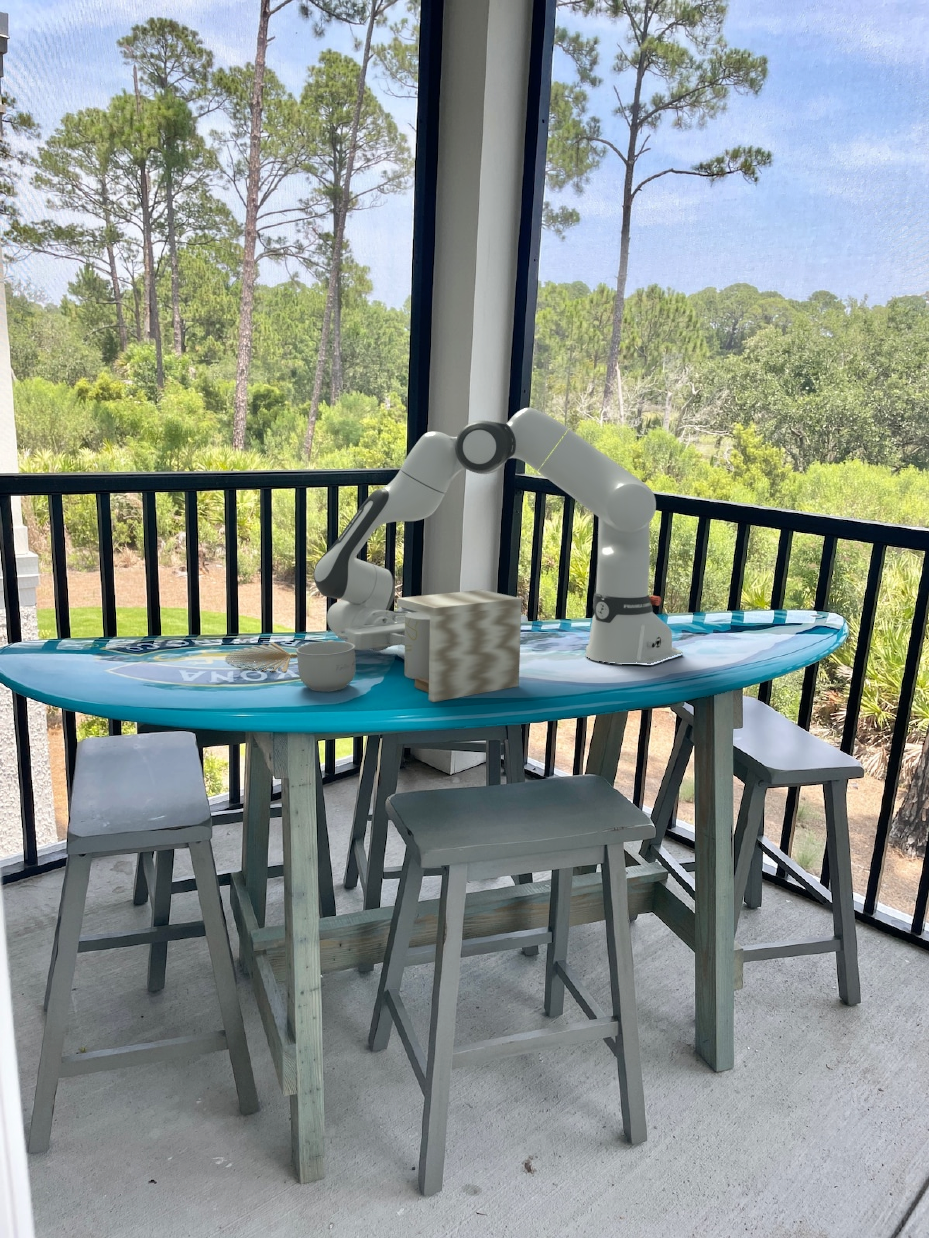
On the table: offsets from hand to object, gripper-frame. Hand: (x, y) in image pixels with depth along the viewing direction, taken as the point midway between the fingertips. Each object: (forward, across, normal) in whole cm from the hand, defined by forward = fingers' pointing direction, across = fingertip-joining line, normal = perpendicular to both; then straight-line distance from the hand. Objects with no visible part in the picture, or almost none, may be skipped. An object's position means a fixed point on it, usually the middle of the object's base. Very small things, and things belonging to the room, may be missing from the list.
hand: (412, 641), depth 181 cm
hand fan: (-25, -21, +6) cm, 34 cm away
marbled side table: (+16, 0, +6) cm, 17 cm away
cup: (+5, 0, +6) cm, 8 cm away
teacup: (+2, -20, +6) cm, 21 cm away
